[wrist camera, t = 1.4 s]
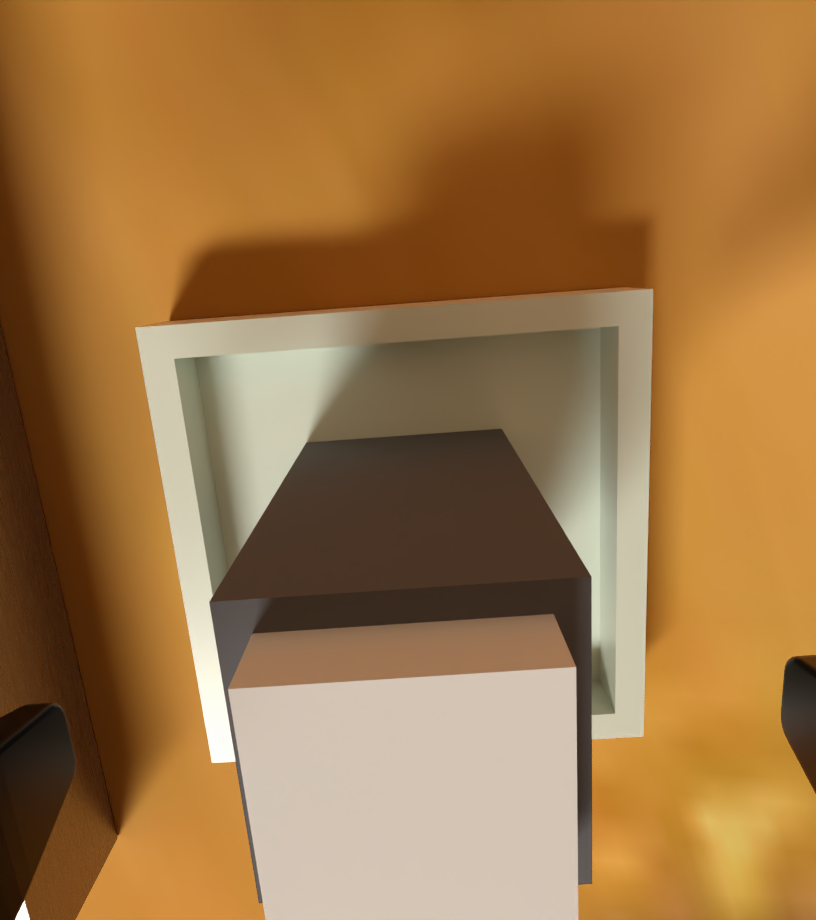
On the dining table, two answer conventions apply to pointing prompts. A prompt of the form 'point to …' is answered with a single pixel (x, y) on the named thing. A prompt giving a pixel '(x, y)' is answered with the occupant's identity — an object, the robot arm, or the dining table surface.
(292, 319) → the tray
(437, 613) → the plug
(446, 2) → the dining table surface
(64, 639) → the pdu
